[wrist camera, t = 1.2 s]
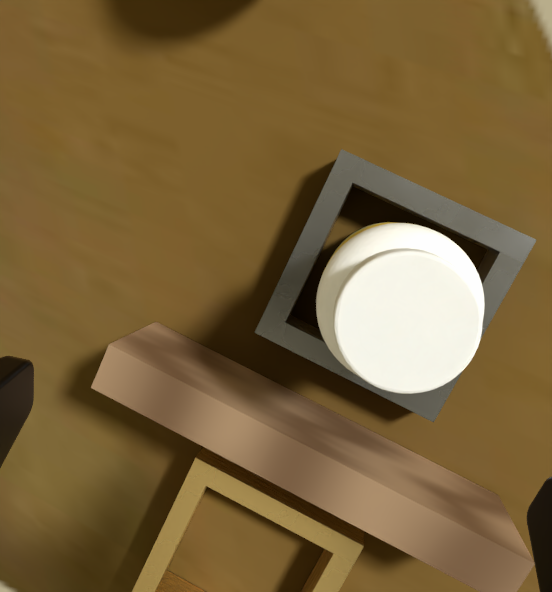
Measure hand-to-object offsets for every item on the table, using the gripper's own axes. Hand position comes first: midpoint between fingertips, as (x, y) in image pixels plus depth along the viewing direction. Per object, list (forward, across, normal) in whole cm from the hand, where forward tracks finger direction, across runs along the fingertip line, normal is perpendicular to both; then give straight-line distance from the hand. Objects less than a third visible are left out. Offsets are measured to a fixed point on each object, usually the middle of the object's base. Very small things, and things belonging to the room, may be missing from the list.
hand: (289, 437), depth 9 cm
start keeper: (+15, -4, +3) cm, 16 cm away
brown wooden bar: (+13, -3, +10) cm, 17 cm away
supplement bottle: (+15, -4, +3) cm, 16 cm away
